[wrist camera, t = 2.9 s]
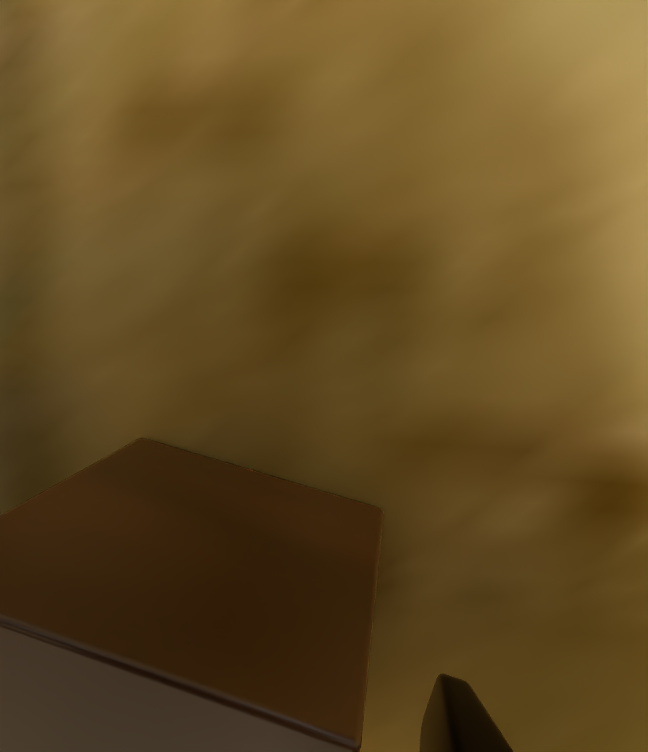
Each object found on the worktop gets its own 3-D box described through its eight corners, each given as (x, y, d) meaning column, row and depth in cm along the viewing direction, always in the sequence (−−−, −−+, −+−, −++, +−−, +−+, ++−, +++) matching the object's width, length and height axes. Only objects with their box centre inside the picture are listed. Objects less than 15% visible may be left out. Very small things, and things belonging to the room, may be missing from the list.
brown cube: (105, 646, 10) (-140, 936, 5) (140, 435, 9) (-119, 577, 4) (324, 723, 9) (249, 1112, 5) (385, 507, 8) (362, 747, 4)
